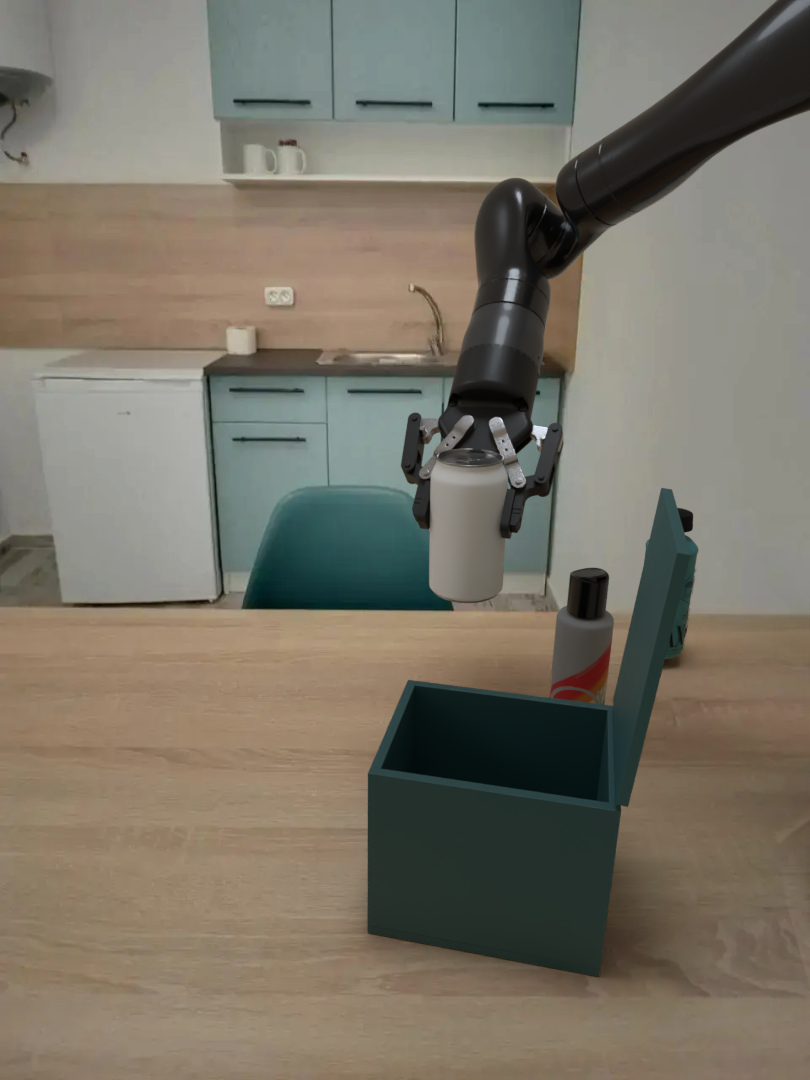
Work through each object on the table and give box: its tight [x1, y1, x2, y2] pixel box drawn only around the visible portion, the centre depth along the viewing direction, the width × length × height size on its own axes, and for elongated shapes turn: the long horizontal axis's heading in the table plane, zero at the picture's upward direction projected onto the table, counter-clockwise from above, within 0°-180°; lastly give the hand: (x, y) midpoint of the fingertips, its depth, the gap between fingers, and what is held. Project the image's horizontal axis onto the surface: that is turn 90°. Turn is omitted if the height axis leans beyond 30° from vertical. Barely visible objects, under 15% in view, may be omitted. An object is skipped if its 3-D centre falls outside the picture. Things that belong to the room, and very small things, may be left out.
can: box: [428, 448, 509, 604], centre depth 71 cm, size 6×6×12 cm
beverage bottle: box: [643, 507, 699, 660], centre depth 103 cm, size 6×7×20 cm
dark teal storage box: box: [366, 679, 622, 978], centre depth 66 cm, size 18×14×15 cm
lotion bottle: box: [548, 567, 615, 705], centre depth 85 cm, size 6×6×20 cm
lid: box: [612, 487, 691, 808], centre depth 58 cm, size 18×14×1 cm
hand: (463, 529), depth 69 cm, fingers closed on can, 6 cm apart
